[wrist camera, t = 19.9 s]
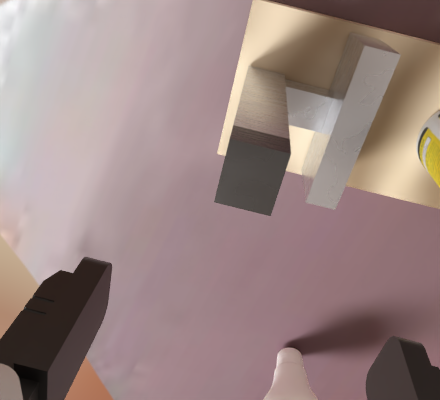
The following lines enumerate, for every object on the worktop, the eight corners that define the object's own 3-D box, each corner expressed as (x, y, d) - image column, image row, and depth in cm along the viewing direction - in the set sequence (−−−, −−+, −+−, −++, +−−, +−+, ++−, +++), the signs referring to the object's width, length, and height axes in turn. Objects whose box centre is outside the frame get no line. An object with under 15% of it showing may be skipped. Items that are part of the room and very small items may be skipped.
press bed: (588, 80, 28) (653, 105, 23) (498, 215, 33) (535, 257, 29) (254, -4, 28) (249, 3, 23) (219, 146, 33) (210, 177, 28)
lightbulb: (250, 356, 45) (243, 462, 35) (277, 320, 42) (277, 426, 32) (300, 376, 45) (307, 486, 36) (330, 343, 42) (346, 452, 33)
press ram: (380, 39, 26) (464, 101, 15) (326, 175, 32) (357, 302, 20) (262, 9, 26) (251, 48, 15) (227, 151, 31) (199, 263, 20)
